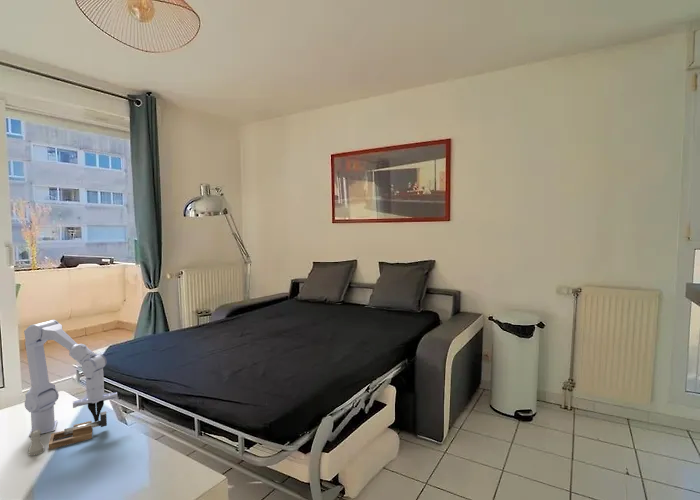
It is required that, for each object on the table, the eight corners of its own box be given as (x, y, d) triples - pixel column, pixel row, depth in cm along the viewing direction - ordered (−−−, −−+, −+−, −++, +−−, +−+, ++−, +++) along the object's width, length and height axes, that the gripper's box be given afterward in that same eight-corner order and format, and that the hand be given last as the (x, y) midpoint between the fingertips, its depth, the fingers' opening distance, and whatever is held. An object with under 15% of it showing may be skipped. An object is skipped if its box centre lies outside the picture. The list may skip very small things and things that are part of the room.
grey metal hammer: (65, 432, 144) (64, 420, 143) (106, 422, 151) (106, 411, 151) (64, 436, 141) (63, 424, 141) (106, 425, 149) (106, 414, 148)
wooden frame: (51, 438, 144) (51, 428, 144) (92, 428, 151) (91, 418, 151) (48, 449, 136) (48, 438, 136) (91, 438, 143) (91, 427, 143)
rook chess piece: (35, 456, 132) (34, 434, 132) (25, 455, 133) (23, 433, 132) (47, 449, 136) (46, 428, 136) (37, 448, 137) (36, 427, 137)
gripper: (71, 394, 140) (73, 430, 141) (117, 385, 148) (118, 419, 149) (72, 388, 146) (74, 422, 146) (116, 380, 154) (117, 412, 154)
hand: (96, 420), depth 148 cm, fingers closed
